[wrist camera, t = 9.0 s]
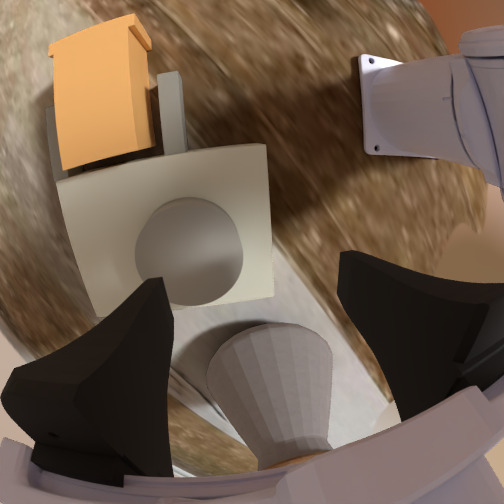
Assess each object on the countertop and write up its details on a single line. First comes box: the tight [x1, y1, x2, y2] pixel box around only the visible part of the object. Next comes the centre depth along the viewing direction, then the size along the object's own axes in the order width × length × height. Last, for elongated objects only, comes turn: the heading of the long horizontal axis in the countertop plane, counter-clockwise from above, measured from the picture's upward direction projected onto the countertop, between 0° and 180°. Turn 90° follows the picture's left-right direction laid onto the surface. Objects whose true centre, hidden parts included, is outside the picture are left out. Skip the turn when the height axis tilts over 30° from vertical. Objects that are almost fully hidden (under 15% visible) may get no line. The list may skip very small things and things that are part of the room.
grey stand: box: [45, 71, 274, 317], centre depth 16 cm, size 14×15×5 cm
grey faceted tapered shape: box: [206, 323, 334, 471], centre depth 21 cm, size 21×12×15 cm, turn 34°
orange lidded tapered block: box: [49, 13, 156, 171], centre depth 12 cm, size 5×8×5 cm
